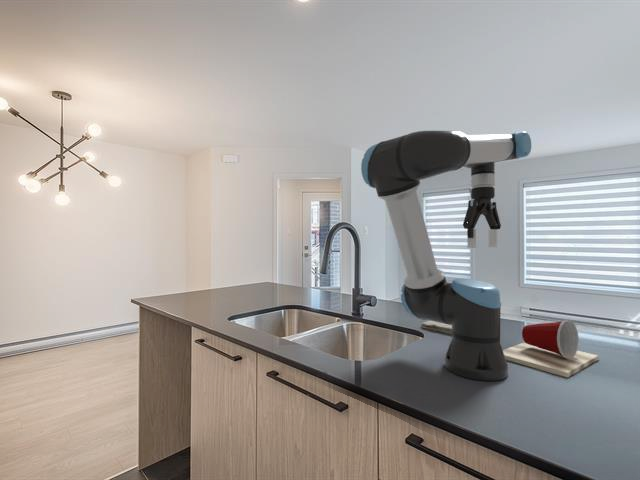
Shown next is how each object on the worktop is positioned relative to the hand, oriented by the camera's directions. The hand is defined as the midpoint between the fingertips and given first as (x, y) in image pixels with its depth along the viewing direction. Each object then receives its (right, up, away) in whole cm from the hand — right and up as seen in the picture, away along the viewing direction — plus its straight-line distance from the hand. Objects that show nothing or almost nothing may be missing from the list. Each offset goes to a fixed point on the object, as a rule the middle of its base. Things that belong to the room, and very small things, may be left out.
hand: (482, 247), depth 118 cm
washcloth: (-8, -32, +10) cm, 35 cm away
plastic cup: (+7, -27, -14) cm, 31 cm away
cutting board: (+8, -32, -21) cm, 39 cm away
